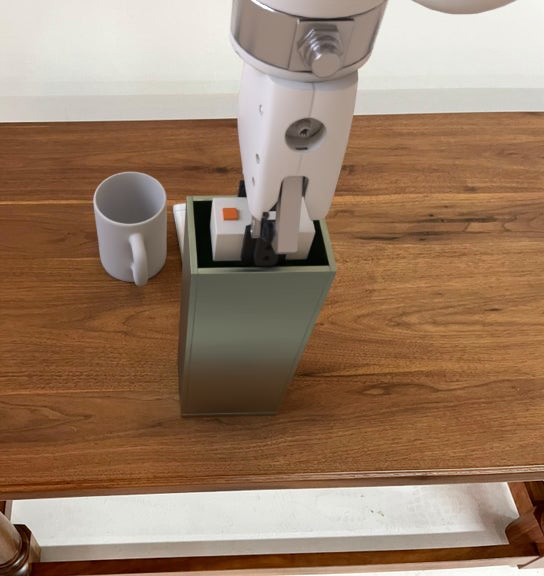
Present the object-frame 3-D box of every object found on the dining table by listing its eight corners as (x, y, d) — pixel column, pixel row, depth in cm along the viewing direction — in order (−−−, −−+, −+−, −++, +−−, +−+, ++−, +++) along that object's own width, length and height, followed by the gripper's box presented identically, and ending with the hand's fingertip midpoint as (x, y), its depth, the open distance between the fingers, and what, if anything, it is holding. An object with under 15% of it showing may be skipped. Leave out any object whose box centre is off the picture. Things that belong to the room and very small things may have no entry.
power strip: (306, 259, 45) (316, 229, 42) (213, 261, 45) (216, 231, 42) (299, 223, 47) (308, 193, 44) (209, 225, 47) (213, 195, 44)
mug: (96, 235, 79) (88, 175, 70) (160, 226, 80) (160, 166, 71) (108, 311, 73) (101, 256, 64) (177, 300, 73) (180, 244, 64)
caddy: (268, 354, 69) (319, 193, 47) (276, 415, 65) (337, 270, 43) (177, 355, 69) (186, 195, 47) (180, 417, 65) (191, 273, 43)
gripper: (423, 118, 26) (327, 333, 41) (346, -69, 35) (291, 162, 50) (249, 122, 26) (217, 335, 41) (219, -67, 35) (202, 164, 50)
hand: (258, 238), depth 45 cm, fingers closed on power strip, 3 cm apart
